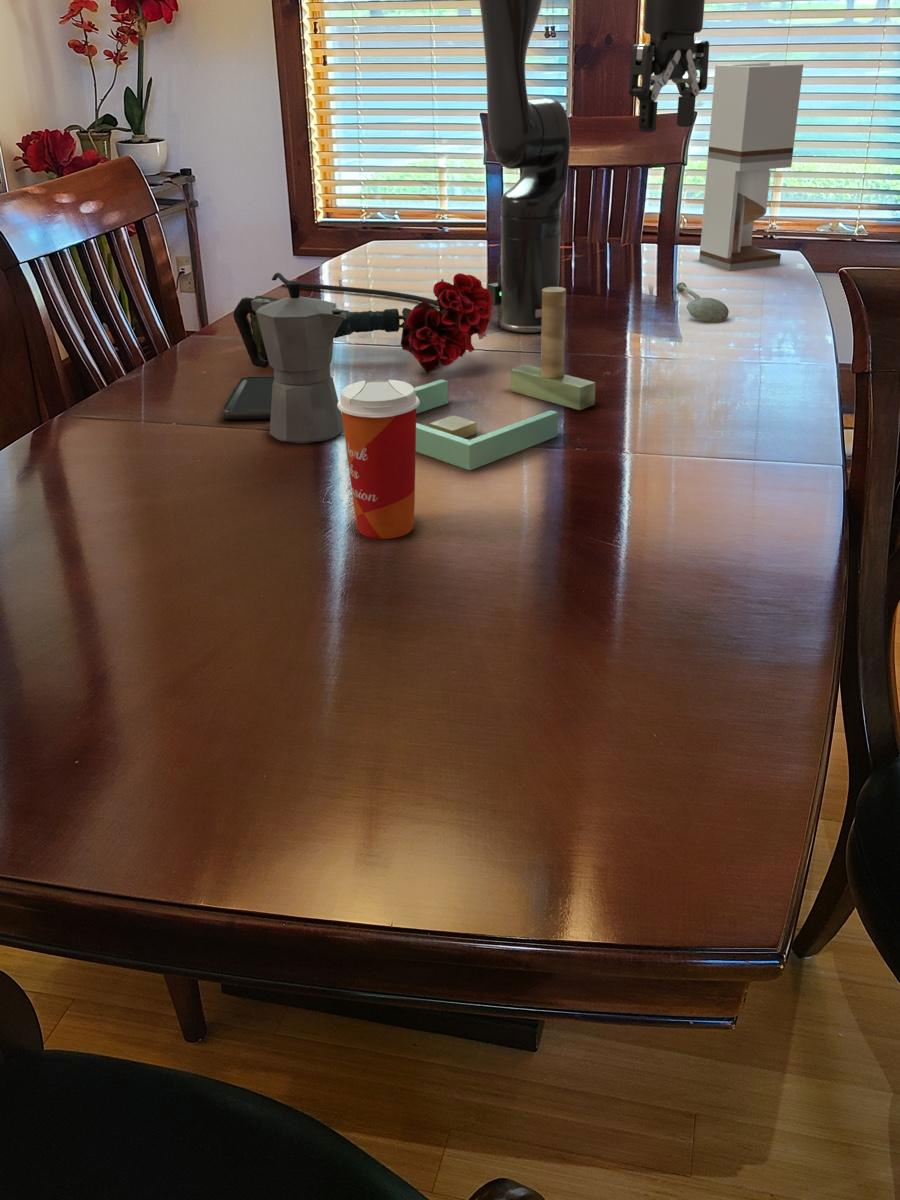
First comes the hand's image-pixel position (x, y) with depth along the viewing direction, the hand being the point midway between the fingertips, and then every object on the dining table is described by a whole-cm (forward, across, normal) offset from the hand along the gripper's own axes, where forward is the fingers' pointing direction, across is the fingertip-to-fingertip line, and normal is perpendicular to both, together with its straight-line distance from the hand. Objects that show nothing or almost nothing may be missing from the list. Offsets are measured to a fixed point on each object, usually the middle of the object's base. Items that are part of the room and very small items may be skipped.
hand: (666, 129), depth 145 cm
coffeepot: (+30, +57, -11) cm, 65 cm away
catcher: (+30, +45, +4) cm, 54 cm away
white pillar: (+30, -62, -24) cm, 73 cm away
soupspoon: (+30, -26, -10) cm, 41 cm away
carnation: (+30, +32, -26) cm, 51 cm away
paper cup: (+30, +69, +18) cm, 77 cm away
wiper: (+30, +27, +4) cm, 41 cm away
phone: (+30, +54, -24) cm, 66 cm away
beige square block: (+30, +46, +4) cm, 55 cm away
